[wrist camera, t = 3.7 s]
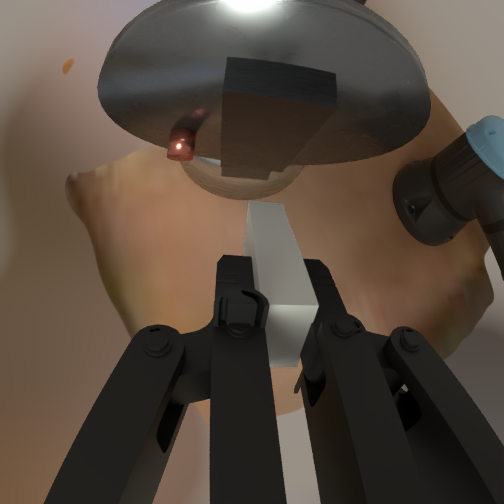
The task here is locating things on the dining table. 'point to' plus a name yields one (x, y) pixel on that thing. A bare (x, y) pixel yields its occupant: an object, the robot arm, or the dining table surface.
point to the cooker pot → (238, 179)
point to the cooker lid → (265, 82)
